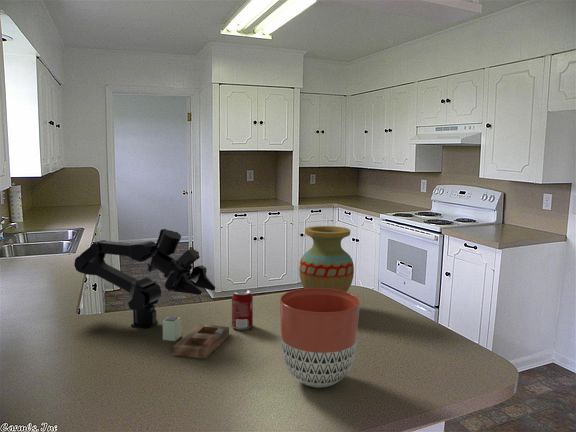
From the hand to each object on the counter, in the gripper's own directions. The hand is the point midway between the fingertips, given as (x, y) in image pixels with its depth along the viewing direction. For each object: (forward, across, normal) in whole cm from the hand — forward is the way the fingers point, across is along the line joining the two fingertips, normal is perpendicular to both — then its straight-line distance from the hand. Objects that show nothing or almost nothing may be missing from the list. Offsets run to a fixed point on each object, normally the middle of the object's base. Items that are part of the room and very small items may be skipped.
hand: (208, 291), depth 142 cm
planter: (+43, -15, -1) cm, 46 cm away
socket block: (+8, -4, +13) cm, 16 cm away
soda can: (+12, +12, +9) cm, 19 cm away
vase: (+30, +37, -4) cm, 48 cm away
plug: (-3, -3, +18) cm, 18 cm away
